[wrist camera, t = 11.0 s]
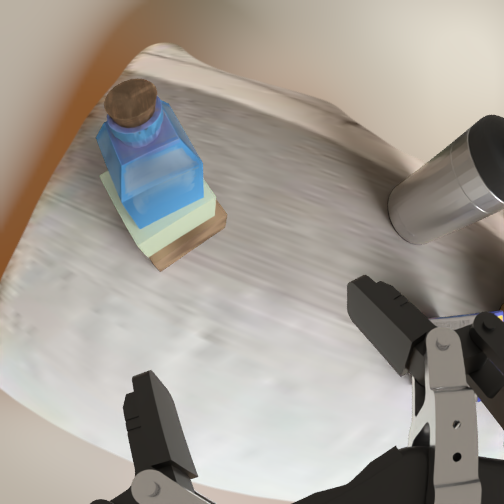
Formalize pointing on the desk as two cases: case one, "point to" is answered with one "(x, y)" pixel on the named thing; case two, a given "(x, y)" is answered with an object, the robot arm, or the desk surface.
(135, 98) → the perfume bottle
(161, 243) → the tower top block
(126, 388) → the desk surface
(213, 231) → the tower base block
